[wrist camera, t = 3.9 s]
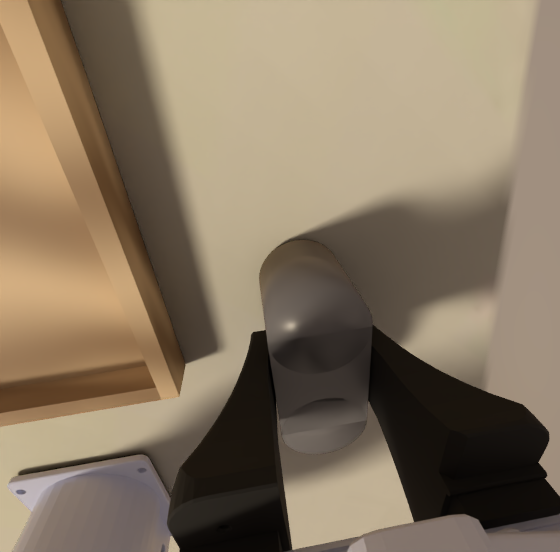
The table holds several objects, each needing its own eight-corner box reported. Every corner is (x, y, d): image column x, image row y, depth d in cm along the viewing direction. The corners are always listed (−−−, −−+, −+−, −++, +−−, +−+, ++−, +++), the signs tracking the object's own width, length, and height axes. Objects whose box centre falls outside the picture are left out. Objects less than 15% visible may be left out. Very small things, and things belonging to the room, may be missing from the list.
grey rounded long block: (339, 401, 18) (363, 470, 15) (279, 411, 18) (289, 484, 15) (338, 234, 13) (375, 280, 10) (254, 246, 13) (260, 298, 9)
